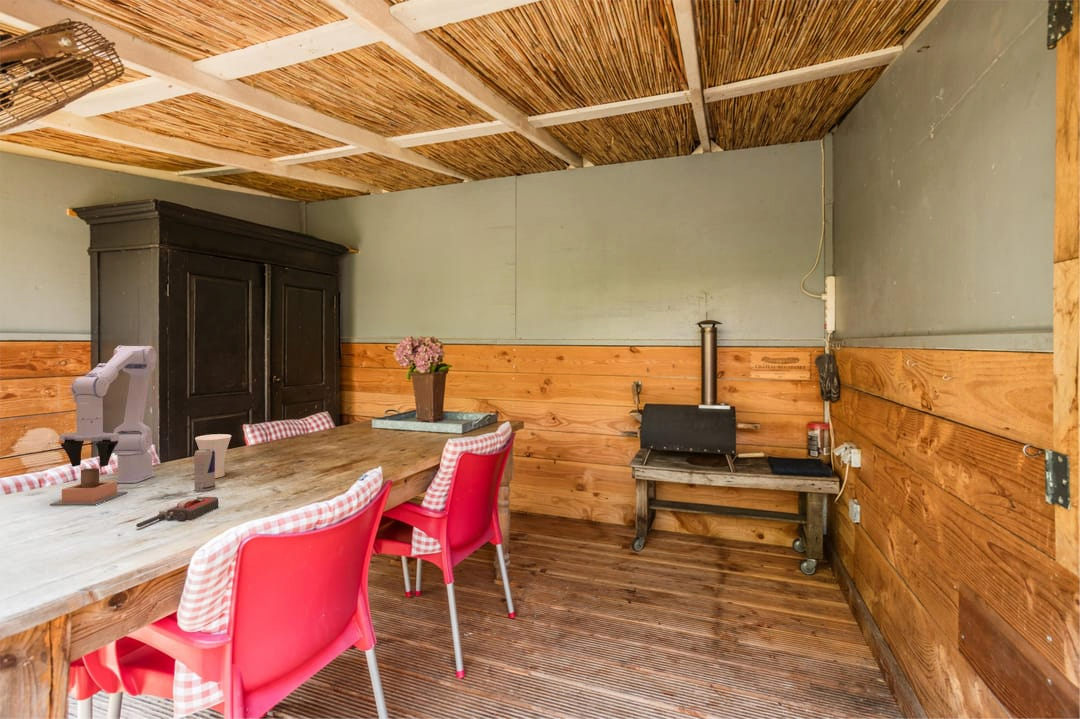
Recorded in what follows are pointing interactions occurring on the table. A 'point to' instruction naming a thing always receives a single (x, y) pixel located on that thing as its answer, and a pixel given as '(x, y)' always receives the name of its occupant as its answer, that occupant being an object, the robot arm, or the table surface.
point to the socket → (89, 494)
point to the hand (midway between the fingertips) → (90, 465)
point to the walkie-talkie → (185, 510)
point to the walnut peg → (90, 478)
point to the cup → (215, 449)
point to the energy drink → (204, 470)
